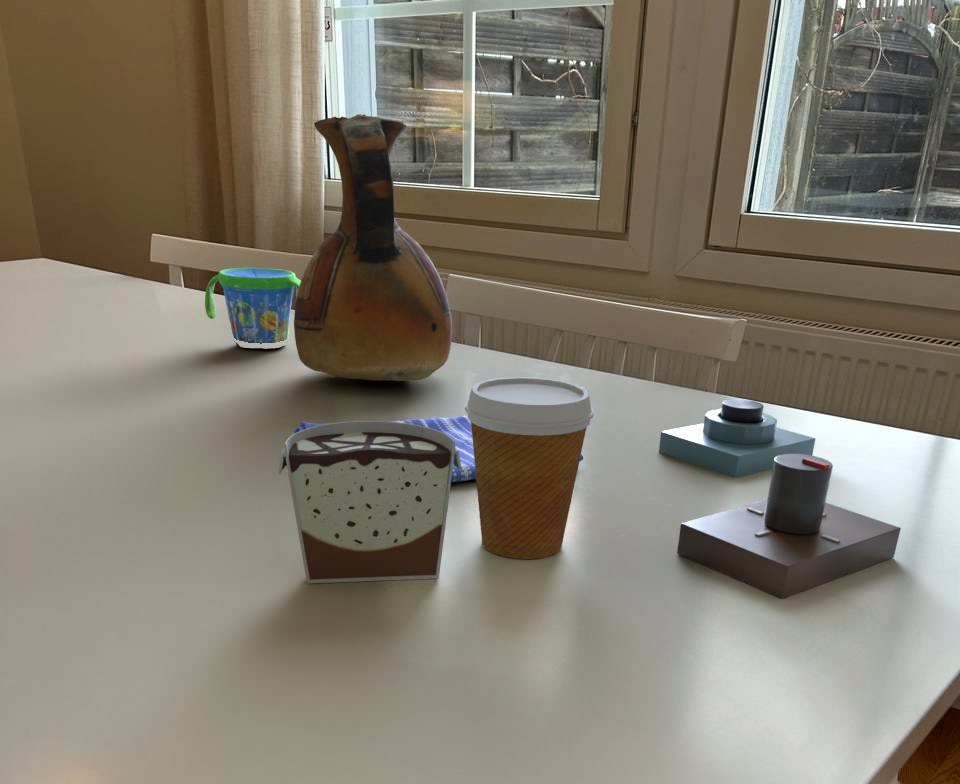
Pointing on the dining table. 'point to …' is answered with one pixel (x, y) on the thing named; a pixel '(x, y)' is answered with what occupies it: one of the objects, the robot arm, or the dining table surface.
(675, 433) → the button box
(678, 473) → the dining table surface
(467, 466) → the dish towel
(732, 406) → the button
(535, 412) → the disposable coffee cup
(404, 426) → the food container
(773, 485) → the knob
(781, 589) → the knob panel
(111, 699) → the dining table surface
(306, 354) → the ceramic pitcher
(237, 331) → the snack cup
